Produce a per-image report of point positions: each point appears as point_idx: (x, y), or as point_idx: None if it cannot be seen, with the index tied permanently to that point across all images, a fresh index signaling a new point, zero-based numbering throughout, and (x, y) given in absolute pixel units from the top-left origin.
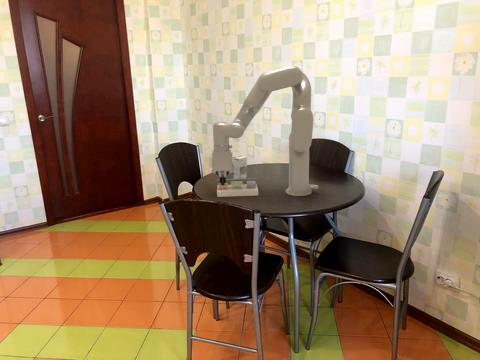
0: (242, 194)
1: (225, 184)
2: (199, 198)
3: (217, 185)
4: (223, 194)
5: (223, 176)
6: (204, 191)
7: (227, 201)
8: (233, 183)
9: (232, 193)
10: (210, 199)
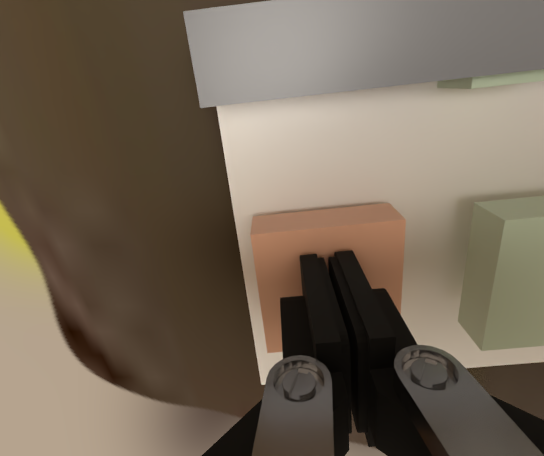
0: None
1: None
2: (112, 378)
3: (221, 128)
4: None
5: (380, 431)
6: (74, 173)
7: (359, 433)
8: (499, 333)
9: None
10: (215, 398)
